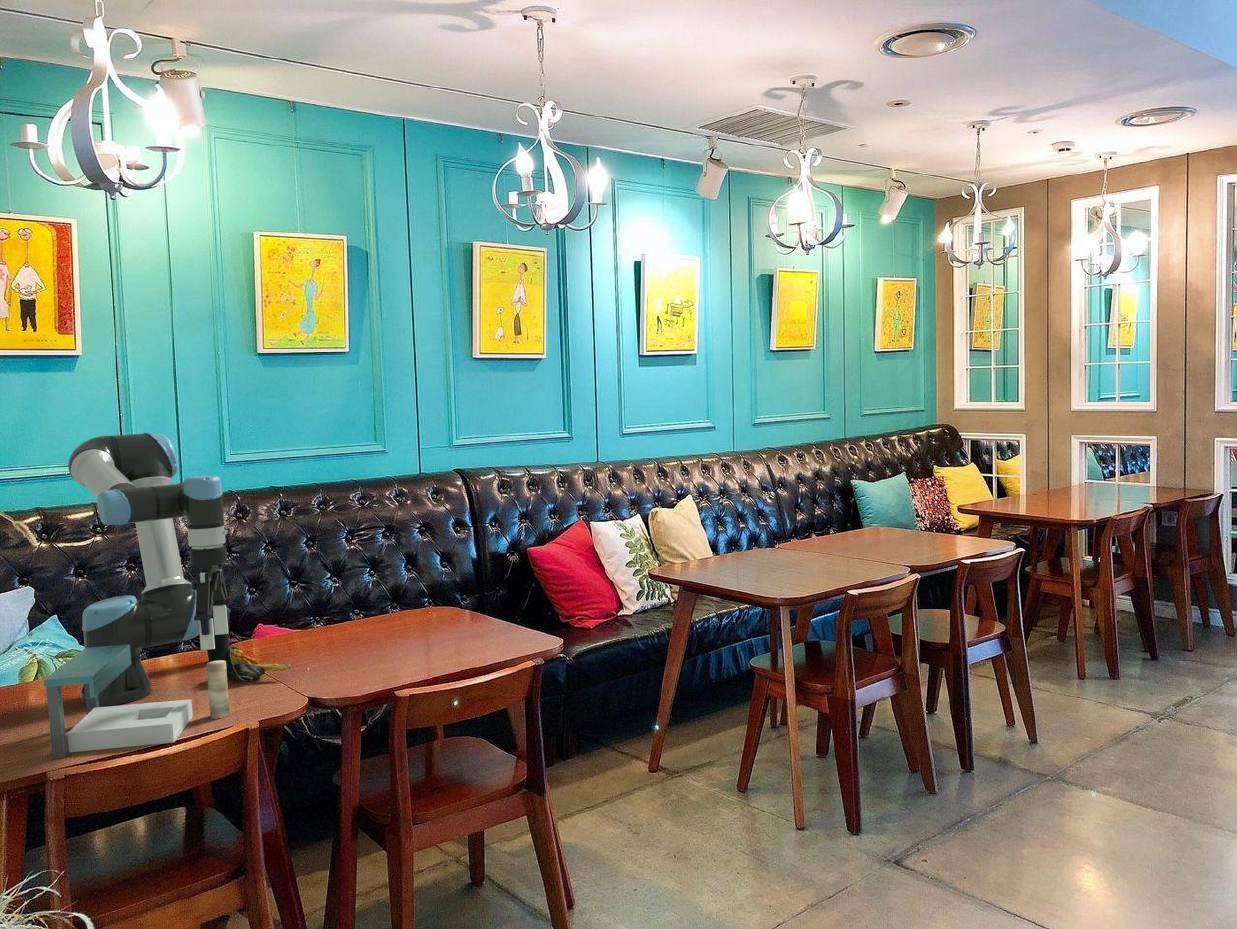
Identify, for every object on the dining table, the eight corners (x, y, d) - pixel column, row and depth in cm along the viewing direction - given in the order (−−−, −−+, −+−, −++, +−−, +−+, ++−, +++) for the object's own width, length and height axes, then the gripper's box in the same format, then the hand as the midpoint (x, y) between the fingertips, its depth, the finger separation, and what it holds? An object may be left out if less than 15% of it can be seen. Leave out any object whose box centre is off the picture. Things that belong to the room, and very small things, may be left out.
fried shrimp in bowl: (219, 655, 252) (287, 629, 253) (231, 697, 248) (298, 670, 250) (204, 652, 243) (273, 624, 244) (215, 694, 240) (285, 666, 241)
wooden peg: (212, 713, 221) (208, 661, 219) (231, 711, 221) (227, 659, 220) (208, 719, 217) (204, 666, 216) (227, 717, 217) (223, 664, 216)
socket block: (95, 725, 215) (94, 707, 215) (192, 716, 219) (191, 699, 219) (69, 752, 200) (67, 733, 199) (173, 742, 203) (172, 723, 203)
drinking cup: (197, 665, 260) (191, 590, 258) (213, 657, 268) (208, 584, 266) (223, 665, 259) (218, 590, 257) (239, 657, 266) (234, 584, 265)
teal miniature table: (92, 720, 219) (86, 647, 217) (135, 716, 220) (129, 644, 219) (50, 760, 195) (43, 679, 194) (99, 756, 197) (92, 675, 196)
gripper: (212, 554, 204) (220, 654, 206) (237, 536, 228) (243, 626, 230) (174, 556, 203) (182, 657, 204) (202, 539, 227) (209, 629, 229)
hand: (215, 641), depth 217 cm, fingers open, 13 cm apart
